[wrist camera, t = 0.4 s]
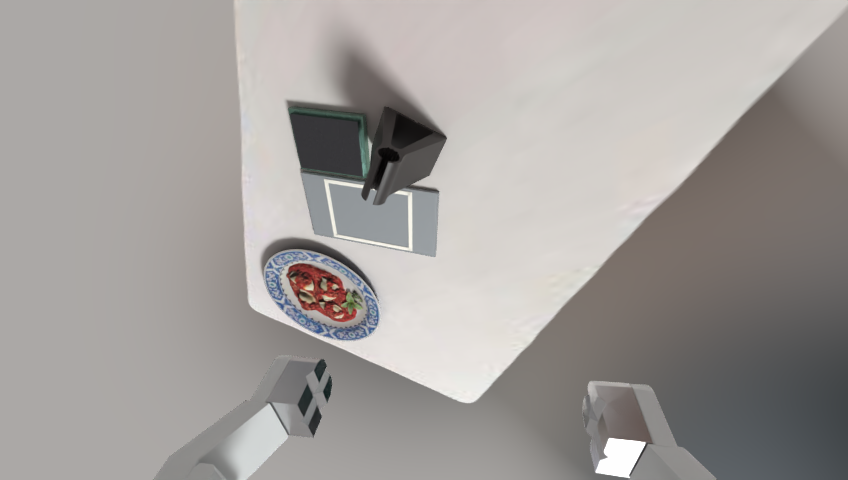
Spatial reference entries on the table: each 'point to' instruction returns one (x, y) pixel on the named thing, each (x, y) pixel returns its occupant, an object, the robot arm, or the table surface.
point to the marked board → (372, 214)
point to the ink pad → (331, 141)
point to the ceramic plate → (322, 295)
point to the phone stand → (400, 155)
